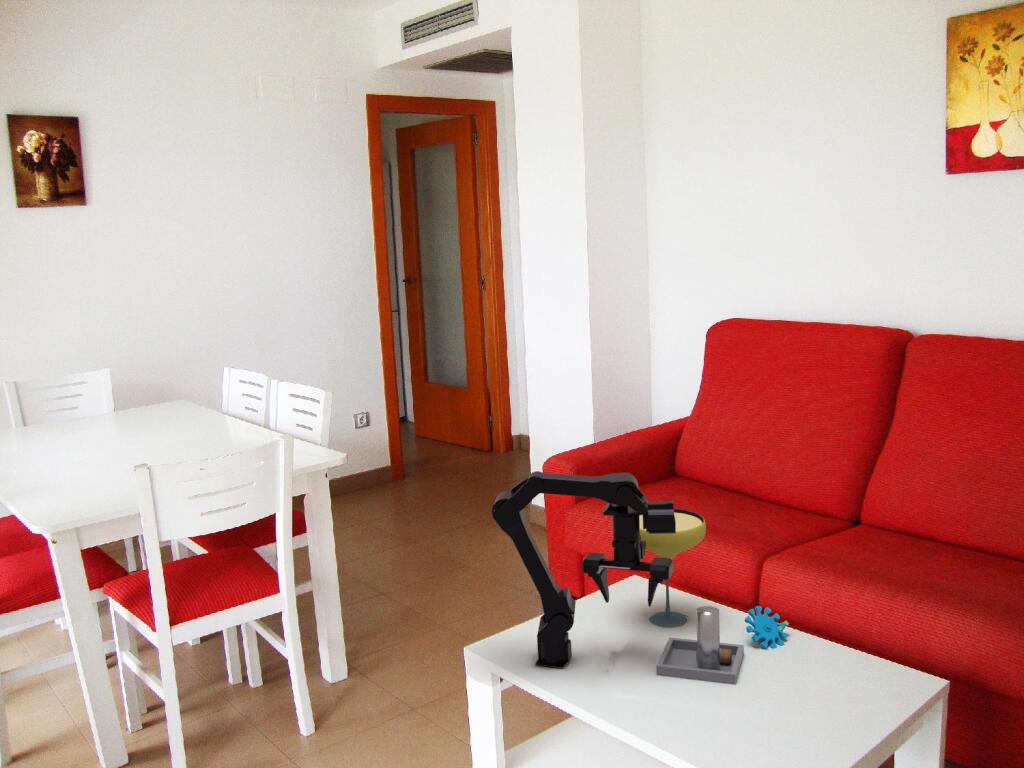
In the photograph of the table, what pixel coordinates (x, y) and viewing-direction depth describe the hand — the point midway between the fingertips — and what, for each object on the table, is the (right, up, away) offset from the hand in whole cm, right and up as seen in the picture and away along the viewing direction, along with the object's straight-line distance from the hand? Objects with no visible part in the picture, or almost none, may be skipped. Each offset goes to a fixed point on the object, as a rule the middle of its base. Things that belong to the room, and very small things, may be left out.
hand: (628, 603), depth 203 cm
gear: (+32, -11, +7) cm, 34 cm away
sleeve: (+16, -13, -5) cm, 21 cm away
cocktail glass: (+12, -9, +21) cm, 26 cm away
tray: (+15, -13, -2) cm, 20 cm away
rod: (+18, -11, 0) cm, 21 cm away
